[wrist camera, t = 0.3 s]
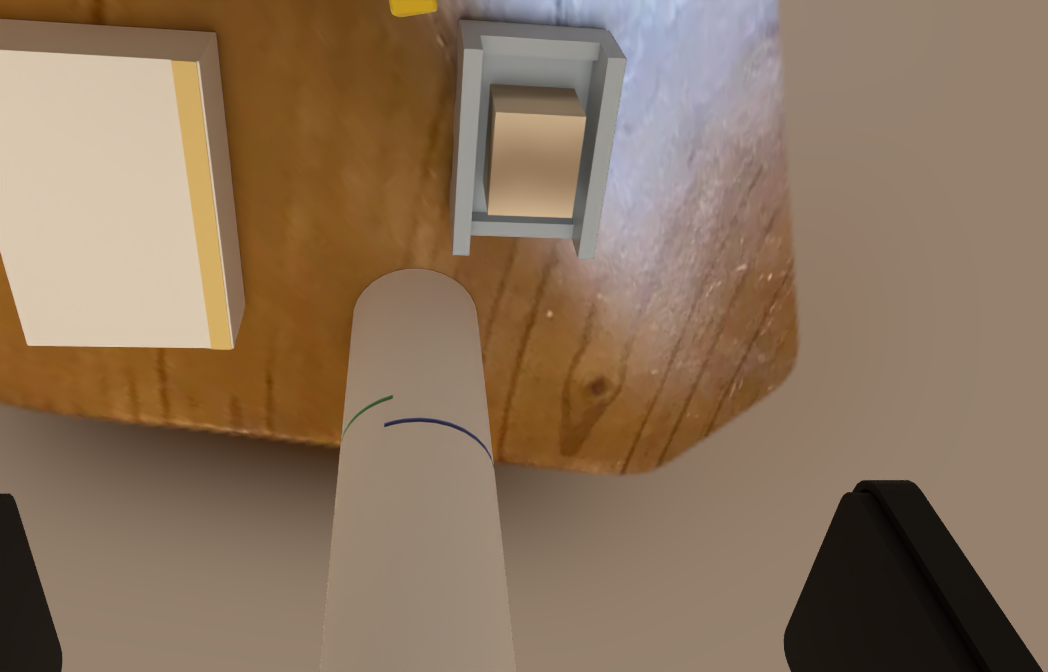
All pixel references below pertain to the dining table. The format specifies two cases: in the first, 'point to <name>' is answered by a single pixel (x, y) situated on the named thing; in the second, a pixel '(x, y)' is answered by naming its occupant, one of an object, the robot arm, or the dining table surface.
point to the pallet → (541, 62)
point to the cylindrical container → (416, 491)
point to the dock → (117, 187)
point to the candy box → (412, 7)
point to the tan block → (532, 150)
